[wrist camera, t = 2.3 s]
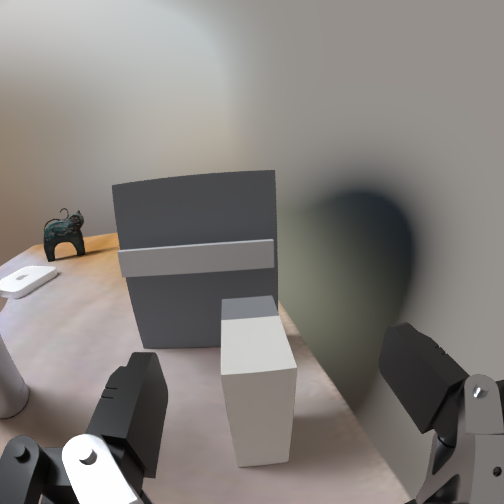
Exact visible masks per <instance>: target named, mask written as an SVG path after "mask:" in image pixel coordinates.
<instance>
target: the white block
mask: <svg viewBox="0 0 504 504" xmlns="http://www.w3.org/2000/svg"><path fill="white" fill-rule="evenodd" d="M296 378H297V365H296V363H295V360H294V357H293V354H292V351H291V348H290V345H289V342H288V340H287V337H286V334H285V331H284V328H283V325H282V322H281V319H280V317H279V314H278V311H277V308H276V305H275V302H274V299H273V297H272V295H271V296H259V297H247V298H234V299H222V315H221V380H222V386H223V392H224V398H225V403H226V409H227V414H228V420H229V425H230V430H231V435H232V441H233V445H234V450H235V455H236V460H237V465H238V467H248V466H260V465H269V464H277V463H284V462H288V459H289V451H290V442H291V433H292V424H293V413H294V402H295V391H296Z"/></svg>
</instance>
